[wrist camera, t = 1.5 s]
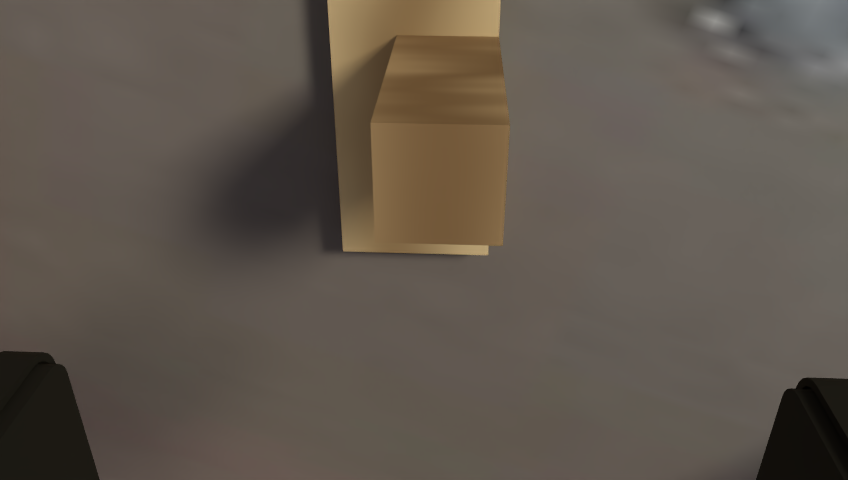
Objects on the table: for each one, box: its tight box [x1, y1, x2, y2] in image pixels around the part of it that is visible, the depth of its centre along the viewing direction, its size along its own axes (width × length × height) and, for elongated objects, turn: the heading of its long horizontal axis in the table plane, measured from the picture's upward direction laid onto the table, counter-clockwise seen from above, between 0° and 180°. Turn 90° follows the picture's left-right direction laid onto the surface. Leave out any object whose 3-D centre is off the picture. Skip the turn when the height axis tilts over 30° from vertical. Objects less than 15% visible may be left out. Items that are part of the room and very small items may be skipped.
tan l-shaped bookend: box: [327, 0, 510, 255], centre depth 21 cm, size 5×12×8 cm, turn 0°
